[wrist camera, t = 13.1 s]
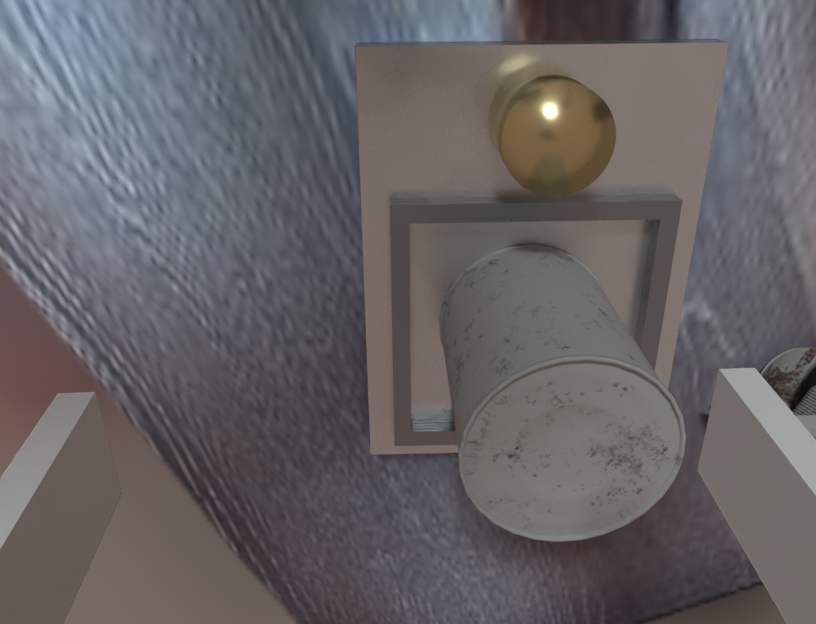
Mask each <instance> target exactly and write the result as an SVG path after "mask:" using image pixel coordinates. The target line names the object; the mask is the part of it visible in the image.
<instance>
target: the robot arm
mask: <svg viewBox="0 0 816 624" xmlns="http://www.w3.org/2000/svg"><path fill="white" fill-rule="evenodd" d="M698 472H699V474H700V476H701V477H702V479H703V481H704V482H705V484H706V486H707V488H708V489H709V491H710V493H711V494H712V496H713V498H714V500H715V501H716V503H717V505H718V506H719V508H720V510H721V512H722V513H723V515H724V517H725V519H726V520H727V522H728V524H729V525H730V527H731V529H732V531H733V532H734V534H735V536H736V537H737V539H738V541H739V543H740V544H741V546H742V548H743V549H744V551H745V553H746V555H747V556H748V558H749V560H750V561H751V563H752V565H753V567H754V568H755V570H756V572H757V573H758V575H759V577H760V579H761V580H762V582H763V584H764V585H765V587H766V589H767V591H768V592H769V594H770V596H771V597H772V599H773V601H774V603H775V604H776V606H777V608H778V609H779V611H780V613H781V615H782V616H783V618H784V620H785V621H786V623H787V624H816V440H815V438H814V437H813V436H812V435H811V434H810V432H809V431H808V430H807V429H806V428H805V427H804V425H803V424H802V423H801V422H800V421H799V419H798V418H797V417H796V416H795V415H794V414H793V412H792V411H791V410H790V409H789V408H788V406H787V405H786V404H785V403H784V402H783V401H782V399H781V398H780V397H779V396H778V395H777V393H776V392H775V391H774V390H773V389H772V388H771V386H770V385H769V384H768V383H767V382H766V380H765V379H764V378H763V377H762V376H761V375H760V373H759V372H758V371H757V370H756V369H755V368H734V369H719V372H718V376H717V381H716V386H715V391H714V395H713V400H712V405H711V409H710V414H709V419H708V423H707V428H706V433H705V438H704V442H703V447H702V452H701V456H700V461H699V466H698ZM121 495H122V492H121V488H120V484H119V480H118V476H117V473H116V469H115V465H114V461H113V458H112V454H111V450H110V446H109V443H108V439H107V435H106V431H105V427H104V424H103V420H102V416H101V413H100V409H99V405H98V401H97V397H96V394H95V392H82V393H81V392H80V393H58V394H57V395H56V397H55V398H54V400H53V401H52V403H51V404H50V406H49V407H48V409H47V410H46V412H45V413H44V415H43V416H42V417H41V419H40V420H39V422H38V423H37V425H36V426H35V428H34V429H33V431H32V432H31V434H30V435H29V437H28V438H27V439H26V441H25V442H24V444H23V445H22V447H21V448H20V450H19V451H18V453H17V454H16V456H15V457H14V459H13V460H12V462H11V463H10V465H9V466H8V468H7V469H6V470H5V472H4V473H3V475H2V476H1V478H0V624H64V622H65V619H66V617H67V615H68V613H69V611H70V608H71V606H72V604H73V602H74V599H75V597H76V595H77V593H78V590H79V588H80V586H81V584H82V582H83V579H84V577H85V575H86V573H87V570H88V568H89V566H90V564H91V561H92V559H93V557H94V554H95V553H96V550H97V548H98V546H99V544H100V541H101V539H102V537H103V535H104V532H105V530H106V527H107V526H108V524H109V521H110V519H111V517H112V515H113V512H114V510H115V508H116V506H117V503H118V501H119V499H120V497H121Z"/></svg>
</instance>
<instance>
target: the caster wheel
mask: <svg viewBox="0 0 816 624" xmlns="http://www.w3.org/2000/svg"><path fill="white" fill-rule="evenodd" d="M760 375H761V376H762V377H763V378H764V379H765V380H766V382H767V383H768V384H769V385H770V386H771V388H772V389H773V390H774V391H775V392H776V393H777V395H778V396H779V397H780V398H781V399H782V401H783V402H784V403H785V404H786V405H787V406H788V408H789V409H790V410H791V411H792V412H793V414H794V415H795V416H796V417H797V418H798V419H799V421H800V422H801V423H802V424H803V425H804V427H805V428H806V429H807V430H808V431H809V432H810V434H811V435H812V436H813V437H814V438H815V440H816V348H795V349H791V350H788V351H785V352H783V353H781V354H779V355H778V356H777V357H775V358H774V359H773V360H771V361H770V362H769V363H768V364H767V366H766V367H765V368H764V369H763V371H762V372H761V373H760ZM706 406H707V405H706ZM707 407H708V408H709V409H711V407H710V406H707Z"/></svg>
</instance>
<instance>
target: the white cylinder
mask: <svg viewBox="0 0 816 624" xmlns="http://www.w3.org/2000/svg"><path fill="white" fill-rule="evenodd" d="M439 324H440V339H441V342H442V345H443V349H444V355H445V362H446V369H447V376H448V383H449V390H450V397H451V404H452V411H453V418H454V424H455V431H456V438H457V445H458V460H459V474H460V477H461V480H462V483H463V486H464V489H465V492H466V493H467V495H468V496H469V498H470V499H471V501H472V502H473V504H474V505H475V507H476V508H477V509H478V510H479V511H480V512H481V513H482V514H483V515H484V516H486V517H487V518H488V519H489V520H490V521H491V522H492V523H494V524H496V525H498V526H499V527H501V528H503V529H505V530H507V531H509V532H511V533H513V534H516V535H520V536H523V537H526V538H530V539H533V540H542V541H551V542H565V541H579V540H584V539H588V538H593V537H597V536H601V535H605V534H607V533H609V532H612V531H614V530H616V529H619V528H621V527H623V526H626V525H627V524H629V523H630V522H632V521H634V520H635V519H637V518H638V517H640V516H641V515H643V514H644V513H646V512H647V511H648V510H649V509H650V508H651V507H652V506H653V505H654V504H655V503H656V502H658V501H659V500H660V499H661V498H662V497H663V495H664V494H665V493H666V491H667V490H668V488H669V487H670V485H671V484H672V483H673V481H674V480H675V478H676V476H677V473H678V471H679V468H680V466H681V463H682V461H683V458H684V450H685V442H686V433H685V427H684V420H683V416H682V413H681V411H680V409H679V407H678V405H677V403H676V401H675V399H674V397H673V395H672V394H671V393H670V392H669V391H668V390H667V389H666V387H665V386H664V385H663V384H662V383H661V381H660V379H659V378H658V376H657V375H656V373H655V372H654V370H653V368H652V367H651V365H650V364H649V362H648V361H647V359H646V358H645V356H644V354H643V353H642V351H641V350H640V348H639V347H638V345H637V343H636V342H635V340H634V339H633V337H632V336H631V334H630V332H629V331H628V329H627V328H626V326H625V325H624V323H623V322H622V320H621V318H620V317H619V315H618V314H617V312H616V311H615V309H614V307H613V306H612V304H611V303H610V301H609V300H608V298H607V296H606V295H605V293H604V292H603V290H602V287H601V285H600V283H599V281H598V279H597V278H596V276H595V275H594V274H593V273H592V272H591V271H590V269H589V268H588V267H587V266H586V265H585V264H584V263H583V262H581V261H580V260H578V259H577V258H575V257H574V256H572V255H571V254H569V253H567V252H564V251H561V250H559V249H556V248H554V247H548V246H541V245H534V244H531V245H517V246H511V247H507V248H504V249H500V250H497V251H494V252H492V253H490V254H488V255H486V256H484V257H482V258H480V259H478V260H477V261H475V262H474V263H473V264H472V265H471V266H469V267H468V268H467V269H466V270H465V271H463V272H462V273H461V274H460V276H459V277H458V278H457V280H456V281H455V282H454V283H453V285H452V286H451V287H450V289H449V291H448V293H447V296H446V298H445V300H444V302H443V305H442V310H441V315H440V320H439Z"/></svg>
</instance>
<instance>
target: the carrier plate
mask: <svg viewBox="0 0 816 624" xmlns="http://www.w3.org/2000/svg"><path fill="white" fill-rule="evenodd" d="M728 46H729V42H726V41H722V40H718V39H677V40H589V41H502V42H415V43H356V46H355V57H356V83H357V110H358V136H359V163H360V190H361V216H362V243H363V269H364V296H365V322H366V349H367V375H368V402H369V428H370V455H379V454H422V453H458V445H457V438H456V431H455V424H454V418H453V411H452V404H451V397H450V390H449V383H448V376H447V369H446V362H445V355H444V349H443V345H442V342H441V339H440V324H439V320H440V315H441V310H442V305H443V302H444V300H445V298H446V296H447V293H448V291H449V289H450V287H451V286H452V285H453V283H454V282H455V281H456V280H457V278H458V277H459V276H460V274H461V273H462V272H463V271H465V270H466V269H467V268H468V267H469V266H471V265H472V264H473V263H474V262H475V261H477V260H478V259H480V258H482V257H484V256H486V255H488V254H490V253H492V252H494V251H497V250H500V249H504V248H507V247H511V246H517V245H531V244H534V245H541V246H548V247H554V248H556V249H559V250H561V251H564V252H567V253H569V254H571V255H572V256H574V257H575V258H577V259H578V260H580V261H581V262H583V263H584V264H585V265H586V266H587V267H588V268H589V269H590V271H591V272H592V273H593V274H594V275H595V276H596V278H597V279H598V281H599V283H600V285H601V287H602V290H603V292H604V293H605V295H606V296H607V298H608V300H609V301H610V303H611V304H612V306H613V307H614V309H615V311H616V312H617V314H618V315H619V317H620V318H621V320H622V322H623V323H624V325H625V326H626V328H627V329H628V331H629V332H630V334H631V336H632V337H633V339H634V340H635V342H636V343H637V345H638V347H639V348H640V350H641V351H642V353H643V354H644V356H645V358H646V359H647V361H648V362H649V364H650V365H651V367H652V368H653V370H654V372H655V373H656V375H657V376H658V378H659V379H660V381H661V383H662V384H663V385H664V386H665V387H666V389H667V390H668V387H669V381H670V376H671V370H672V364H673V358H674V353H675V347H676V341H677V336H678V330H679V324H680V319H681V313H682V307H683V302H684V296H685V290H686V284H687V279H688V273H689V267H690V262H691V256H692V250H693V245H694V239H695V233H696V228H697V222H698V216H699V211H700V205H701V199H702V193H703V188H704V182H705V176H706V171H707V165H708V159H709V154H710V148H711V142H712V137H713V131H714V125H715V119H716V114H717V108H718V102H719V97H720V91H721V85H722V80H723V74H724V68H725V63H726V57H727V51H728Z"/></svg>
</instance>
